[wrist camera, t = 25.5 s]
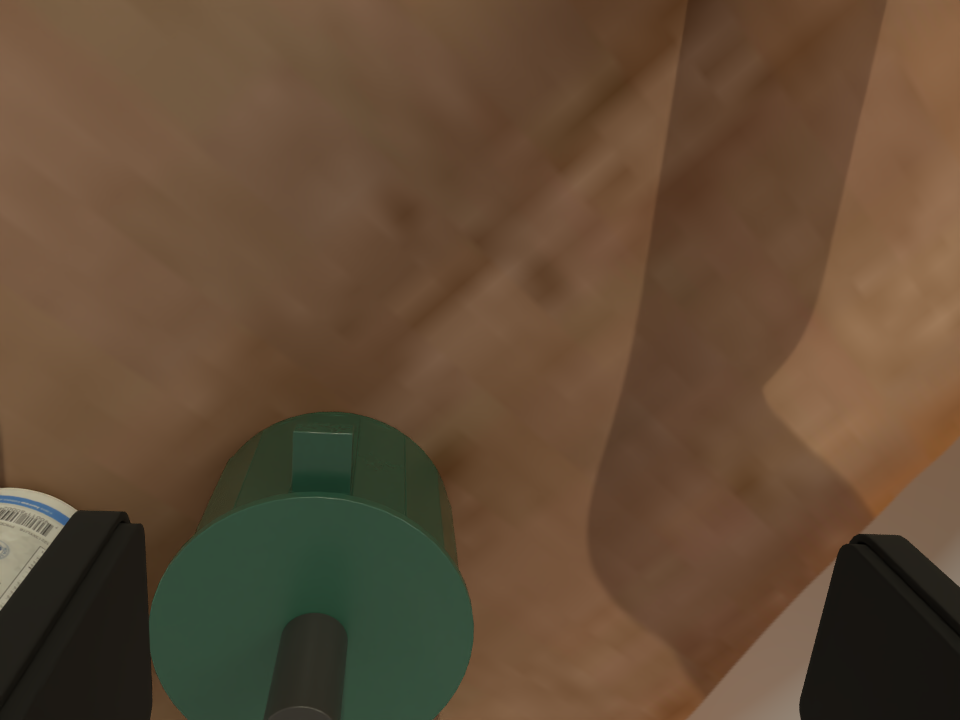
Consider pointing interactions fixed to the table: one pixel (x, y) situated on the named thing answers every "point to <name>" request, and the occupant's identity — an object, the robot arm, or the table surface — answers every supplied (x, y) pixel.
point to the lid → (311, 615)
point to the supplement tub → (26, 533)
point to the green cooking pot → (337, 470)
